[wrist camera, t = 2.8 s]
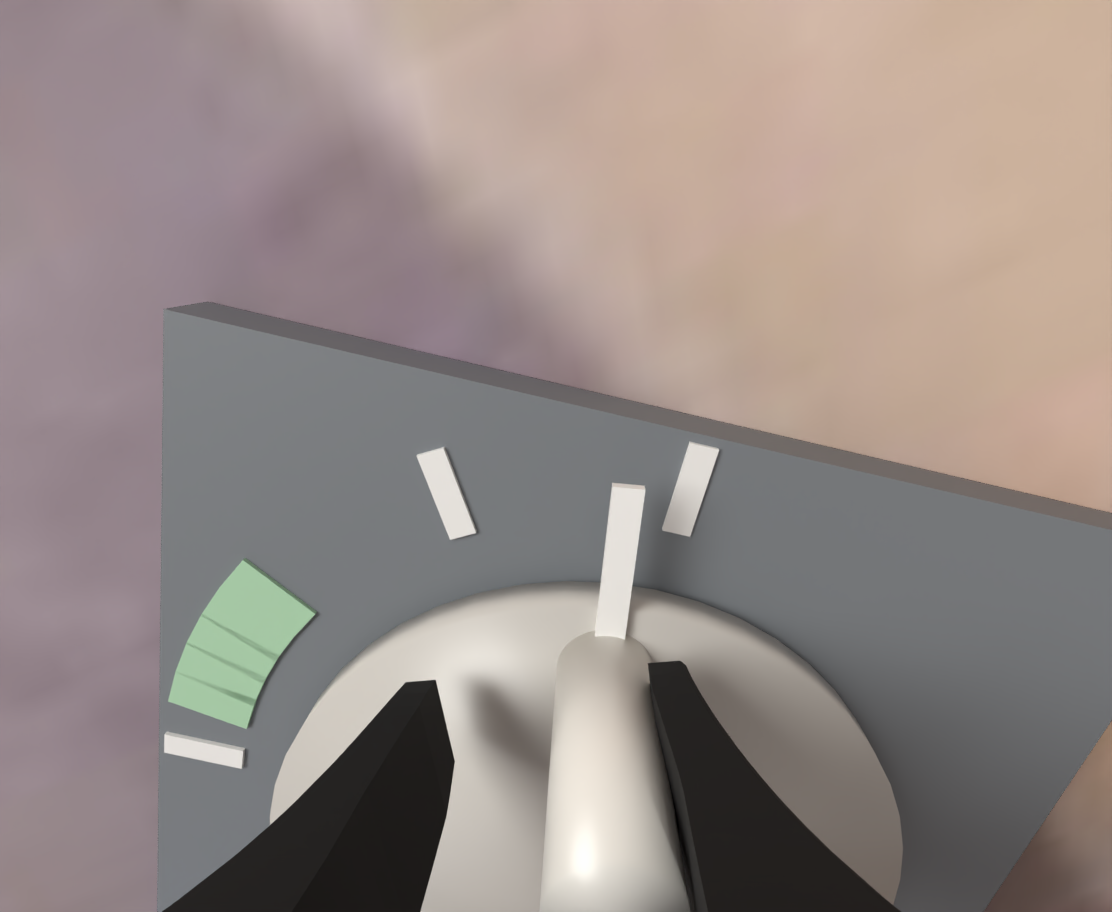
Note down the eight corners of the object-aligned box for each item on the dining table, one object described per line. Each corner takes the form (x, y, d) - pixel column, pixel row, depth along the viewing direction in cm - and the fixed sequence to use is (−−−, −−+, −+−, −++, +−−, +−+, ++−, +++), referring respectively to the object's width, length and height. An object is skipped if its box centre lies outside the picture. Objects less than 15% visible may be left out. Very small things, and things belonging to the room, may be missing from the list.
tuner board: (813, 1081, 22) (831, 1149, 20) (185, 955, 21) (151, 1014, 19) (1158, 524, 14) (1231, 560, 13) (207, 301, 14) (156, 310, 12)
